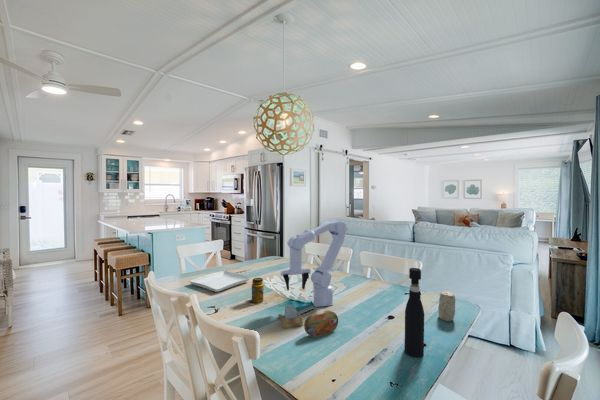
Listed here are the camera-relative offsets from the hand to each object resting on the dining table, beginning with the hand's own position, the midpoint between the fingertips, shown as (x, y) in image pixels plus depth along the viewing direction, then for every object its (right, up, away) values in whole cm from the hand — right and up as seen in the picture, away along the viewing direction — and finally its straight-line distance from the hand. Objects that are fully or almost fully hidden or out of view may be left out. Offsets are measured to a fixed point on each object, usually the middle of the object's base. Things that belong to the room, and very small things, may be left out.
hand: (295, 289), depth 138 cm
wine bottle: (+43, -11, -37) cm, 58 cm away
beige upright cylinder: (+68, -11, -10) cm, 70 cm away
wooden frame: (-2, -10, -13) cm, 16 cm away
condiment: (-21, -10, +10) cm, 25 cm away
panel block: (-2, -10, -13) cm, 17 cm away
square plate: (-47, -9, +38) cm, 62 cm away
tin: (+11, -11, -23) cm, 27 cm away
